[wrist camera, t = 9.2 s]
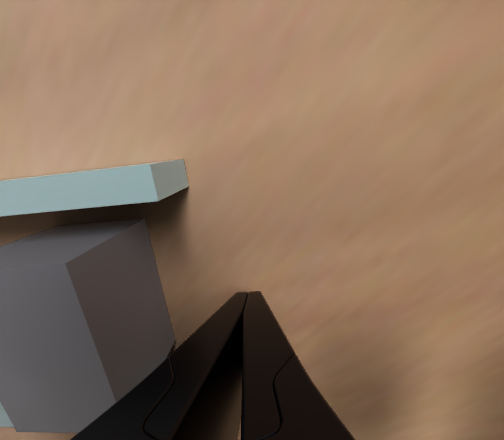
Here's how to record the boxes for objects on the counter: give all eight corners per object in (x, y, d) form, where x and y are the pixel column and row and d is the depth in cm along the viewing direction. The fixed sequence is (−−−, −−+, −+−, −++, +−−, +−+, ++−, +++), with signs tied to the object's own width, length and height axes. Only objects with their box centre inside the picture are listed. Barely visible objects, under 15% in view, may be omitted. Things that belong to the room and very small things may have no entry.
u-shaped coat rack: (183, 159, 9) (135, 166, 6) (223, 372, 12) (205, 452, 9) (-148, 197, 10) (-322, 219, 7) (-42, 375, 13) (-136, 443, 10)
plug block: (146, 217, 10) (65, 263, 6) (176, 338, 11) (127, 434, 8) (51, 225, 10) (-81, 273, 6) (93, 340, 12) (8, 431, 8)
